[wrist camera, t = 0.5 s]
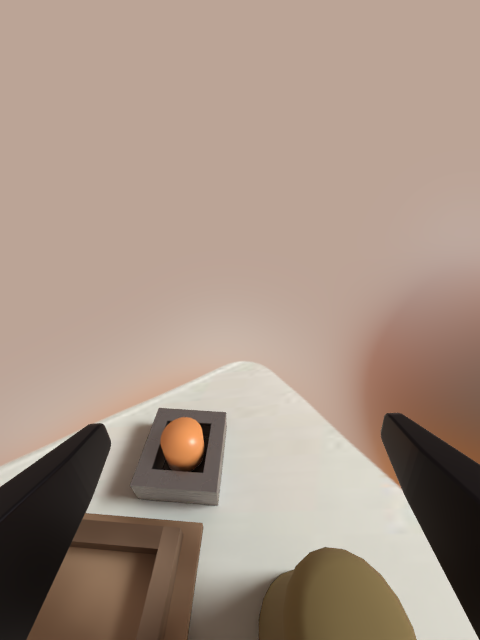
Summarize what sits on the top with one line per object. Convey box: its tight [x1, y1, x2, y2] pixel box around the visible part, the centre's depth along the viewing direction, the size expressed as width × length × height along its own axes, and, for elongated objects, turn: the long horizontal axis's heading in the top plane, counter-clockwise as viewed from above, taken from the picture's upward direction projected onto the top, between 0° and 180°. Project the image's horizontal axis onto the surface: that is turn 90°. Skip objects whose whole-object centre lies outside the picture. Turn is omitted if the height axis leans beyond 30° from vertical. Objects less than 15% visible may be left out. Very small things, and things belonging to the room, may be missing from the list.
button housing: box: [130, 408, 227, 505], centre depth 23 cm, size 7×7×3 cm
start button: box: [160, 417, 205, 472], centre depth 22 cm, size 4×4×3 cm
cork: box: [259, 547, 417, 640], centre depth 12 cm, size 6×6×11 cm
